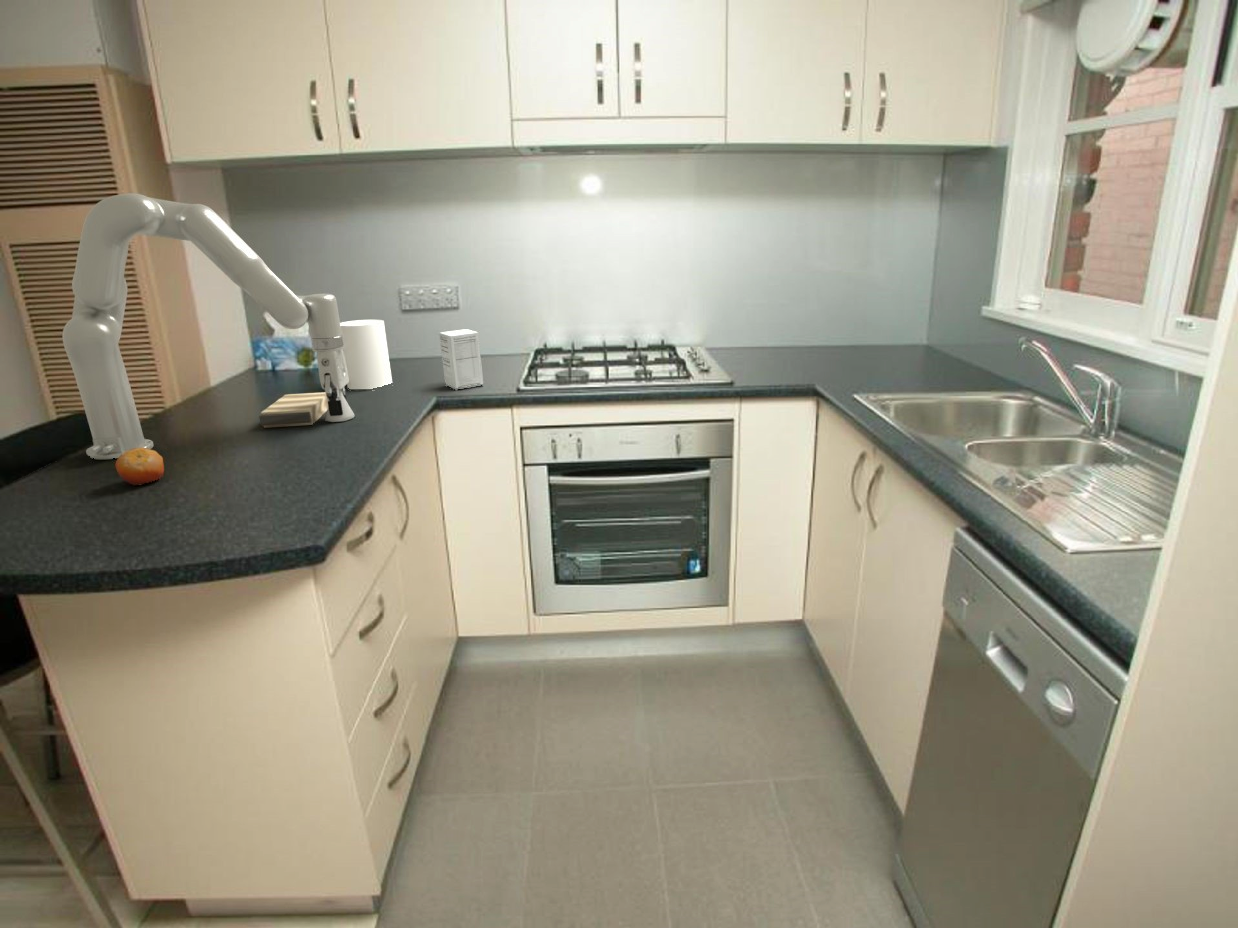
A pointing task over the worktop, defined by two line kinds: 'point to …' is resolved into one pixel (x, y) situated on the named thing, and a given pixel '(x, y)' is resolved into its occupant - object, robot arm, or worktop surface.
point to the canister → (366, 354)
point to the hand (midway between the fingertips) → (339, 412)
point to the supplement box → (461, 358)
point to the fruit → (140, 466)
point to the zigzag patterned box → (295, 410)
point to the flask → (345, 407)
